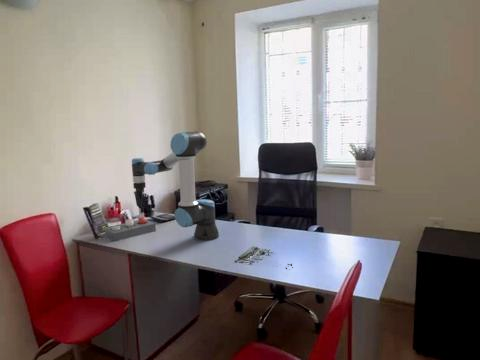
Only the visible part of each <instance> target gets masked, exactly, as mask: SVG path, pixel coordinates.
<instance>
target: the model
mask: <svg viewBox="0 0 480 360" xmlns="http://www.w3.org/2000/svg"><path fill="white" fill-rule="evenodd" d="M269 251H273V250H270V249H267V248H260V247H257V246H253V245H252V246H251V247H250V248H248V249H247V250H245V251H244V252H243V253H242V254H240V255H239V256H238V259H236V260H234V263H237V262H239V263H238V264H243V263H249V262H245V261H251V262H250V263H255V262H256V263H259V261H262V260H261V259H265V255H266V254H273V253H272V252H271V253H270V252H269ZM258 252H259V253H258ZM265 252H266V253H265ZM267 252H268V253H267ZM256 253H257V254H256ZM255 254H256V255H255ZM261 254H262V255H264V254H265V255H264V256H262V255H261ZM253 255H254V256H253ZM250 256H253V257H252V258H251V259H250ZM260 256H262V257H260ZM268 257H271V255H268ZM248 258H249V259H248ZM260 258H261V259H260ZM252 259H255V260H252ZM254 261H255V262H254ZM249 266H252V265H251V264H250V265H249Z"/></svg>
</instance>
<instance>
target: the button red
mask: <svg viewBox="0 0 480 360" xmlns="http://www.w3.org/2000/svg"><path fill="white" fill-rule="evenodd" d="M137 220H138V223H139V224H140V225H141V224H145V223H146V220H147V217H146V216H144V217H142V218H140V217H138V218H137Z"/></svg>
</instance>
